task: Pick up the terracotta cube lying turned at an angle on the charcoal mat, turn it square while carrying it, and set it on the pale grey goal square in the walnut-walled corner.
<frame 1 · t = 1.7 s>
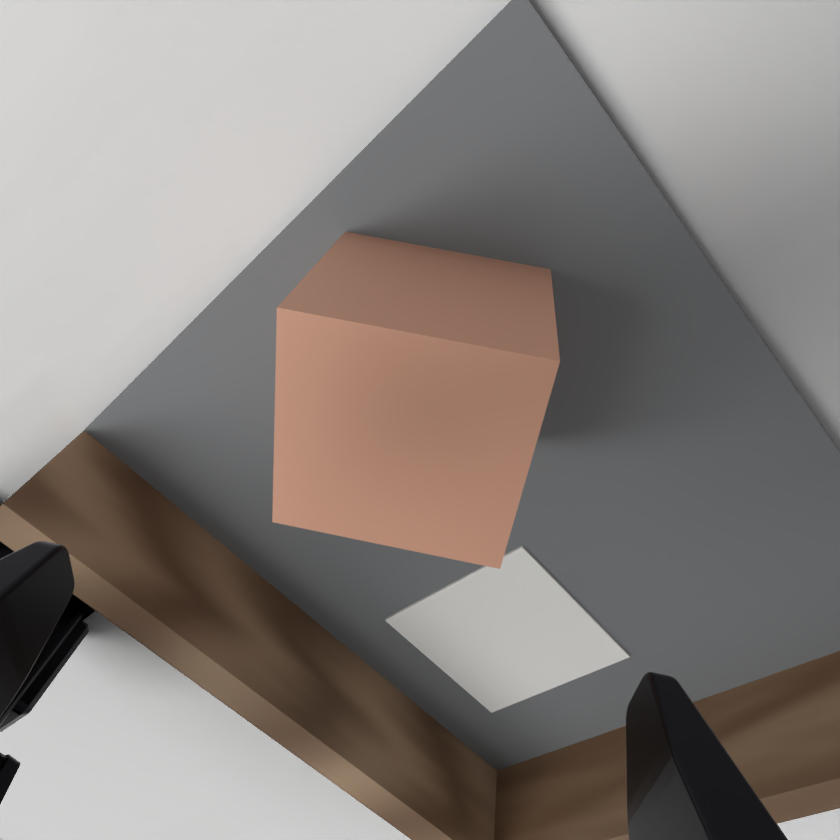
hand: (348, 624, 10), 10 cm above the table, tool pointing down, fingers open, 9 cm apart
cube: (431, 344, 18), resting on mat
mat: (501, 536, 22), on the table
corner walls: (498, 585, 20), on the mat
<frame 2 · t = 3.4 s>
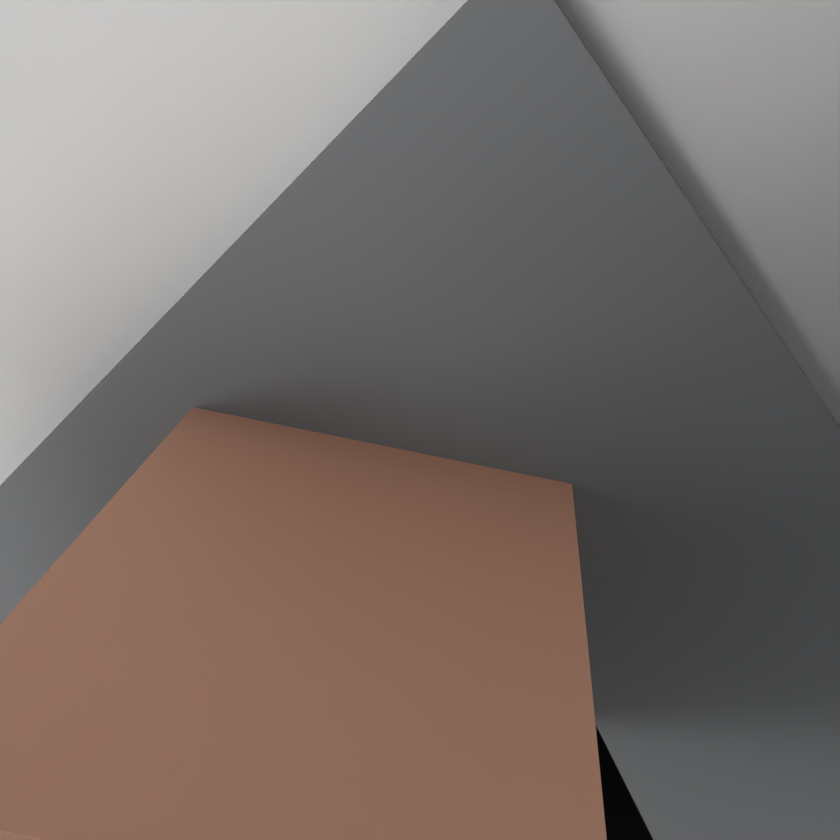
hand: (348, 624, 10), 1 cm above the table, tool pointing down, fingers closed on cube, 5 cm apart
cube: (361, 580, 11), resting on mat, touching gripper
mat: (486, 816, 14), on the table
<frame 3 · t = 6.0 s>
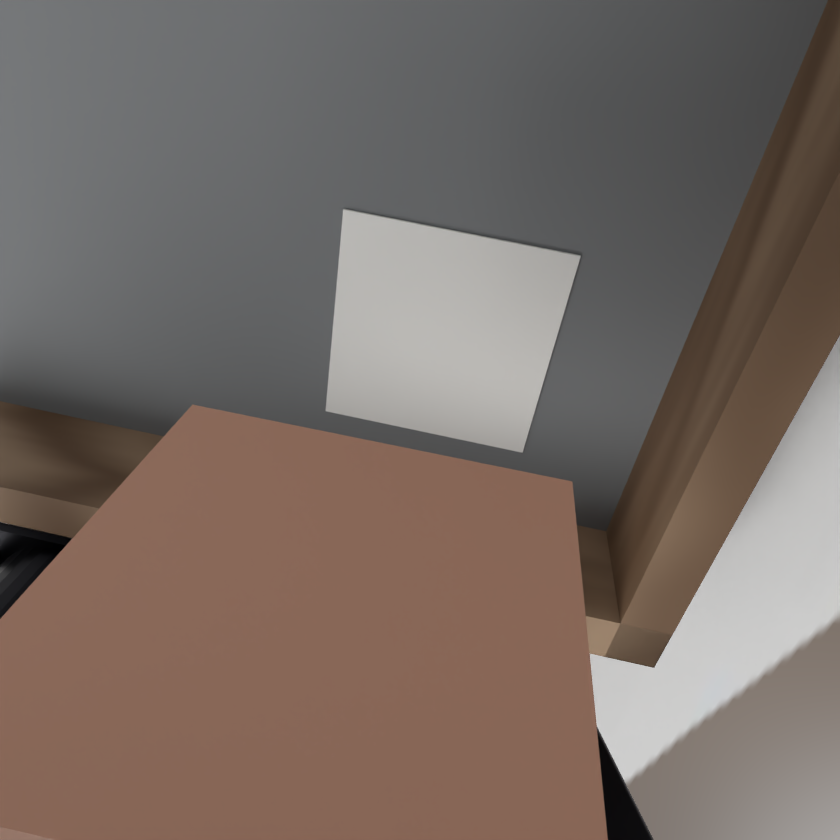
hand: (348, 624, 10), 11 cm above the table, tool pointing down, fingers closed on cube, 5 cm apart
cube: (361, 578, 10), point 10 cm above the table, touching gripper
mat: (327, 220, 18), on the table
corner walls: (303, 243, 16), on the mat
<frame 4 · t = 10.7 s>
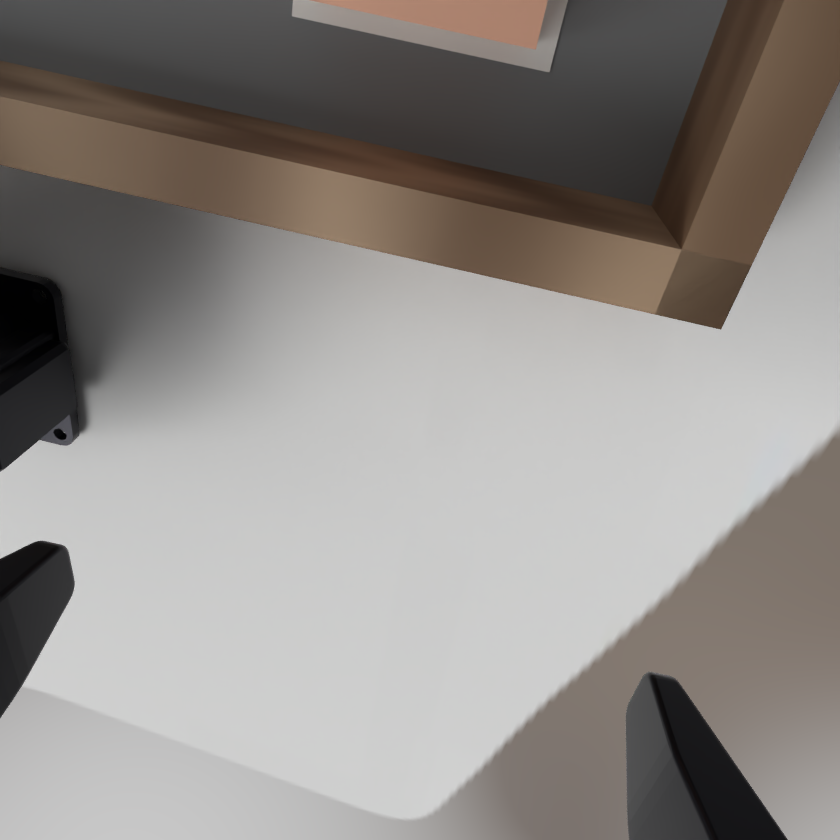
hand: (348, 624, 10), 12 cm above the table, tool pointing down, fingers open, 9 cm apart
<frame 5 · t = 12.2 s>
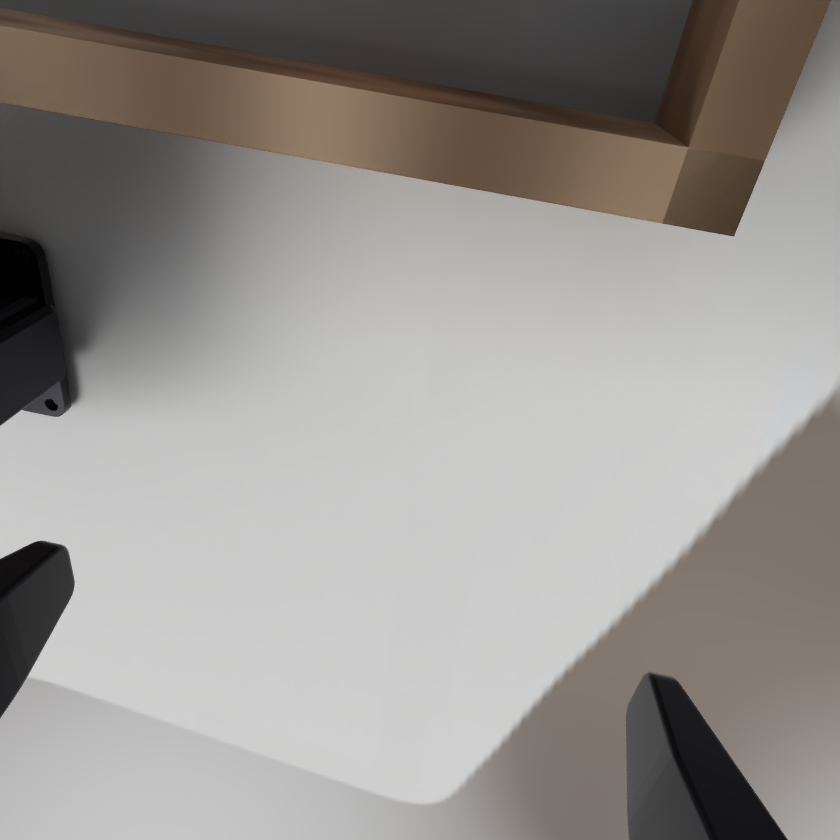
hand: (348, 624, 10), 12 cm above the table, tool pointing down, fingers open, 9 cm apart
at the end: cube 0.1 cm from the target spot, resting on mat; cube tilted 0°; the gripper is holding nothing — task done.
